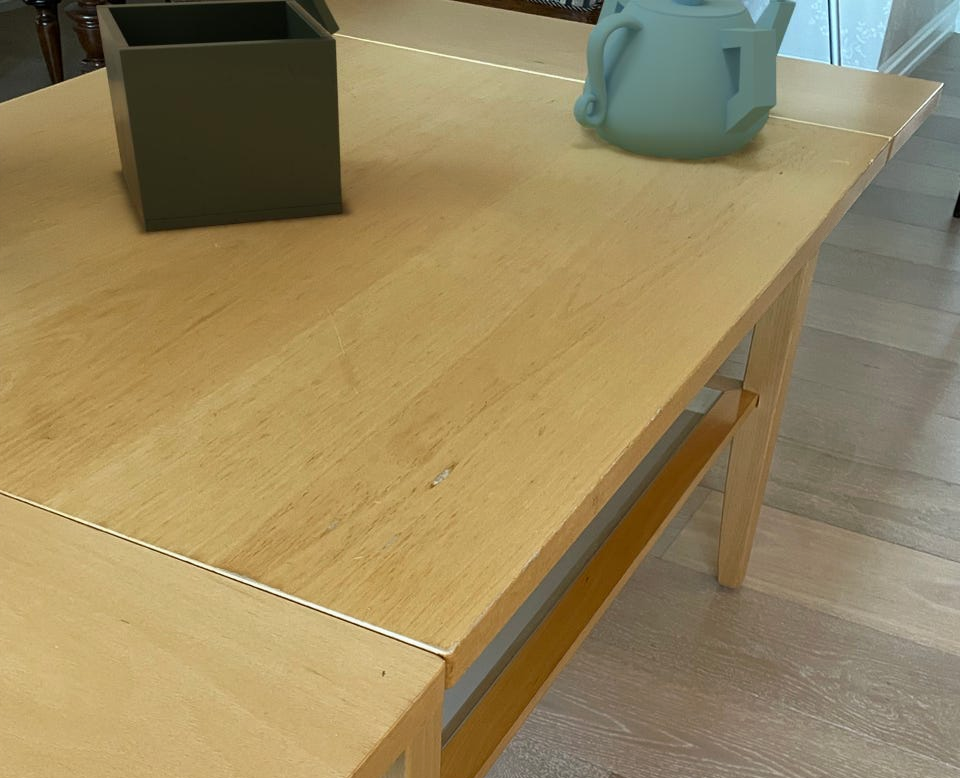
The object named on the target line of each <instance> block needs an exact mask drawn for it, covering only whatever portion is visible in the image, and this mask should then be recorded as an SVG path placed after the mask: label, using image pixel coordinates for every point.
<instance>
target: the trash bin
mask: <svg viewBox="0 0 960 778" xmlns="http://www.w3.org/2000/svg"><path fill="white" fill-rule="evenodd" d="M96 12H97V19H98V23H99V24H98V26H99V31H100V38H101V44H102V51H103V56H104V63H105V64H104V65H105V70H106V76H107V82H108V88H109V97H110V101H111V102H110V103H111V107H112V114H113V121H114V127H115V134H116V139H117V146H118V153H119V161H120V165H121V172H122V175H123V178H124V180H125V182H126V185H127V187H128V190H129V193H130V195H131V197H132V199H133V203H134V205H135V206H136V210H137V213H138V215H139V218H140V220H141V222H142V225H143V227H144V229H145V232H153V231H165V230H175V229H185V228H196V227H197V228H198V227H206V226H219V225H228V224H229V225H230V224H239V223H251V222H260V221H261V222H262V221H272V220H273V221H274V220H282V219H293V218H303V217H305V218H306V217H314V216H315V217H316V216H325V215H335V214H337V215H338V214H343V194H342V192H343V191H342V170H341V169H342V168H341V165H342V164H341V143H340V142H341V141H340V140H341V139H340V112H339V111H340V110H339V86H338V83H339V82H338V59H337V57H338V56H337V39H336V38H335V37H333V35H330V34H329V33H328V32H327V31H326V30H325V29H324V28H323V27H322V26H321V25H320V24H319V23H318V22H317V21H316V20H315V19H314V18H313V17H311V16H310V15H309V14H308V13H307V12H306V11H305V10H304V9H303V8H302V7H301V6H300V5H299V4H298V3H297V2H296V1H295V0H213V1H212V0H211V1H210V0H206V1H182V2H180V1H179V2H153V3H150V2H149V3H128V4H127V3H125V4H99V5H98V4H97V5H96Z"/></svg>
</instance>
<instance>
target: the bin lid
mask: <svg viewBox="0 0 960 778" xmlns="http://www.w3.org/2000/svg"><path fill="white" fill-rule="evenodd" d="M294 1H295V2H296V3H297V4H298V5H299V6H301V7H302V8H303V9H304V10H305V11H306V12H307V13H308V14H309V15H310V16H311V17H312V18H313V19H314V20H315V21H316V22H317V23H318V24H319V25H321V26H322V27H323V28H324V29H325V30H326V31H327V32H328V33H329V34H330V35H331V36H333V35H334V34H336V33H337V32H339V31H340V27H339V24H338V23H337V21H336V19H335V17H334V15H333V14H332V11H331V10H330V8H329V5H328V3H327V2H326V1H325V0H294Z"/></svg>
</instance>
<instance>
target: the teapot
mask: <svg viewBox="0 0 960 778" xmlns="http://www.w3.org/2000/svg"><path fill="white" fill-rule="evenodd" d="M796 6H797V2H796V1H793V0H769V2H768V4H767V6H766V7H765V8H764V9H763V11H762V13H761V14H760V16H759V17H758V19H757V20H756V22H754V19H753V18H752V15H751V13H750V11H749V9H748V7H747V6H746V5H745V4H744V3H743V2H741V1H740V0H603V3H602V6H601V11H600V13H599V17H598V20H597V23H596V24H595V26H594V27H593V28H592V30H591V32H590V33H589V36H588V40H587V45H586V65H587V67H586V68H587V74H586V77H585V81H584V85H583V87H582V94H580V95H579V96H578V98H577V99H576V101H575V103H574V107H573V116H574V119H575V121H576V122H577V124H579V125H580V126H582V127H584V128H588V129H594V130H595V132H596V134H597V135H598V136H599V138H601V140H603V141H605V142H606V143H608V144H610V145H612V146H614V147H616V148H619V149H621V150H625V151H628V152H631V153H635V154H639V155H644V156H649V157H655V158H661V159H662V158H663V159H675V160H677V159H678V160H704V159H714V158H721V157H727V156H729V155H732V154H735V153H737V152H739V151H740V150H742V149H743V148H744V147H746V145H748V144H749V143H750V142H751V141H752V140H754V138H755V137H757V135H758V134H759V133H760V132H761V131H762V130H763V129H764V128H765V126H766V124H767V123H768V120H769V117H770V111H771V110H772V109H773V108H774V107H775V106H777V57H778V54H779V52H780V49H781V47H782V43H783V41H784V38H785V35H786V33H787V30H788V26H789V25H790V22H791V19H792V16H793V14H794V11H795V8H796Z"/></svg>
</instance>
